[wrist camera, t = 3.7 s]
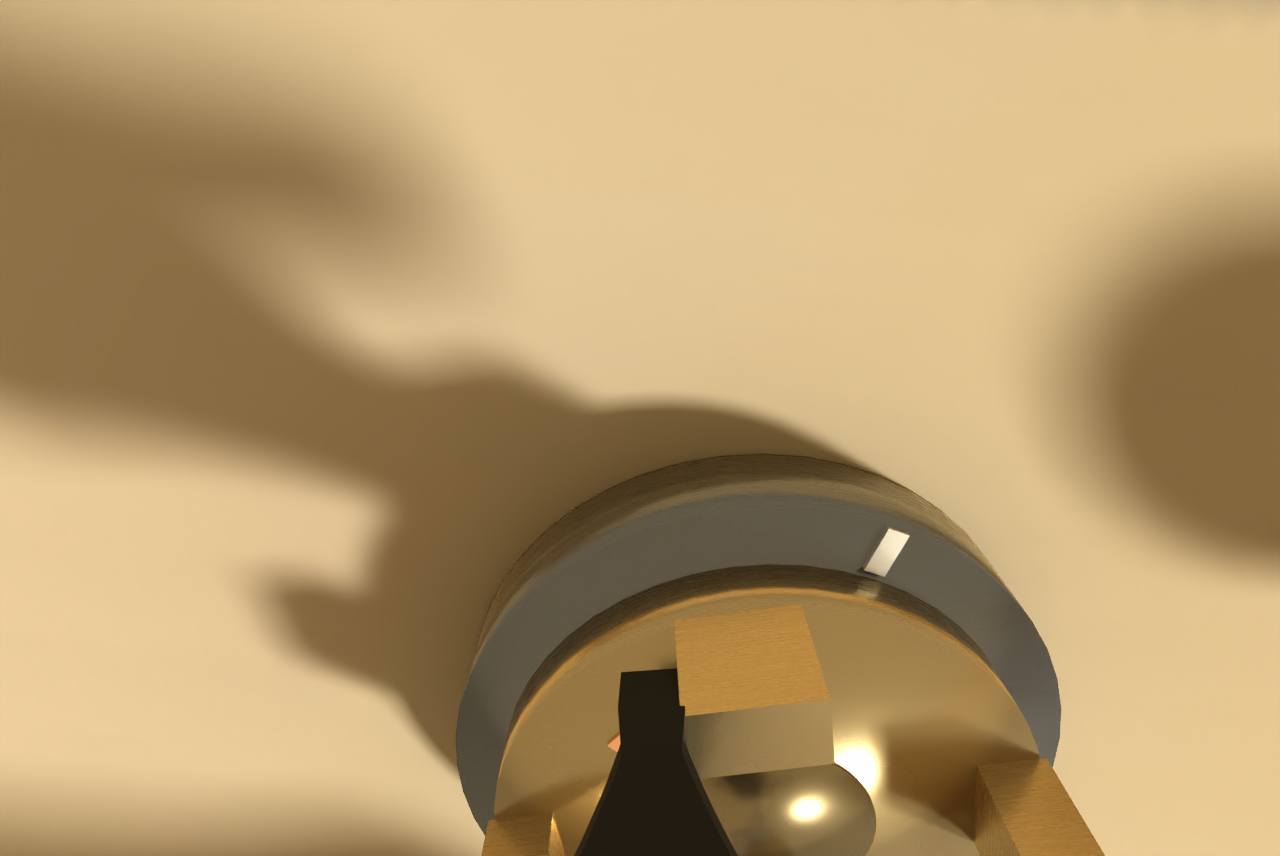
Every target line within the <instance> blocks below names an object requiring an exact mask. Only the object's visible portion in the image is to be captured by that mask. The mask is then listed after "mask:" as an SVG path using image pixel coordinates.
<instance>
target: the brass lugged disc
mask: <svg viewBox="0 0 1280 856" xmlns="http://www.w3.org/2000/svg"><path fill="white" fill-rule="evenodd" d="M674 668H677V670H678V686H679V702H680V705H681V706H685V725H686V737H687V749H688V751H689V754H690V756H691V759H692V761H693V763H694V766H695V768H696V771H697V773H698V775H699V778H700V780H701V782H702V785H703V787H704V789H705V791H706V794H707V796H708V798H709V800H710V802H711V804H712V806H713V808H714V810H715V812H716V814H717V816H718V818H719V820H720V822H721V824H722V826H723V828H724V830H725V832H726V834H727V836H728V838H729V840H730V842H731V844H732V846H733V847H734V849H735V851H736V853H737V855H738V856H1105V855H1104V853H1103V852H1102V850H1101V848H1100V847H1099V845H1098V843H1097V842H1096V840H1095V838H1094V837H1093V835H1092V833H1091V832H1090V830H1089V828H1088V827H1087V825H1086V823H1085V822H1084V820H1083V818H1082V817H1081V815H1080V813H1079V812H1078V810H1077V808H1076V807H1075V805H1074V803H1073V802H1072V800H1071V798H1070V797H1069V795H1068V793H1067V792H1066V790H1065V788H1064V787H1063V785H1062V783H1061V782H1060V780H1059V778H1058V777H1057V775H1056V773H1055V771H1054V770H1053V768H1052V766H1051V765H1050V763H1049V761H1048V760H1047V758H1041V759H1040V757H1039V752H1038V747H1037V745H1036V742H1035V740H1034V738H1033V735H1032V733H1031V731H1030V728H1029V726H1028V723H1027V721H1026V720H1025V718H1024V716H1023V715H1022V713H1021V711H1020V710H1019V708H1018V706H1017V705H1016V703H1015V701H1014V700H1013V698H1012V696H1011V695H1010V693H1009V691H1008V690H1007V688H1006V686H1005V685H1004V683H1003V681H1002V680H1001V678H1000V676H999V675H998V673H997V671H996V670H995V668H994V667H993V665H992V664H991V662H990V661H989V659H988V658H987V656H986V655H985V653H984V652H983V650H982V649H981V648H980V647H979V646H978V645H977V644H976V642H975V641H974V640H973V639H972V638H971V637H970V636H969V635H968V634H967V633H966V632H965V631H964V630H963V629H962V628H961V627H960V626H959V625H957V624H956V623H955V622H954V621H952V620H951V619H950V618H948V617H947V616H946V615H945V614H943V613H942V612H941V611H939V610H938V609H937V608H935V607H933V606H931V605H929V604H928V603H926V602H924V601H922V600H921V599H919V598H917V597H915V596H914V595H912V594H910V593H908V592H906V591H903V590H901V589H898V588H896V587H893V586H891V585H888V584H886V583H883V582H881V581H878V580H875V579H871V578H867V577H864V576H860V575H856V574H852V573H849V572H845V571H840V570H833V569H826V568H819V567H812V566H805V565H774V564H765V565H752V566H739V567H728V568H722V569H717V570H712V571H706V572H701V573H696V574H691V575H688V576H684V577H681V578H678V579H674V580H671V581H668V582H664V583H661V584H658V585H655V586H653V587H650V588H648V589H646V590H643V591H641V592H639V593H636V594H634V595H632V596H629V597H627V598H625V599H623V600H621V601H619V602H617V603H616V604H614V605H612V606H611V607H609V608H607V609H605V610H604V611H602V612H600V613H599V614H597V615H595V616H593V617H592V618H591V619H589V620H588V621H587V622H585V623H584V624H583V625H581V626H580V627H579V628H578V629H576V630H575V631H574V632H572V633H571V634H570V635H568V636H567V637H566V638H565V639H564V640H563V641H562V642H561V643H560V644H559V645H558V646H557V647H556V648H555V649H554V650H553V651H552V652H551V653H550V654H549V655H548V656H547V657H546V658H545V659H544V661H543V662H542V664H541V665H540V666H539V668H538V669H537V670H536V672H535V673H534V674H533V676H532V677H531V678H530V680H529V681H528V683H527V685H526V687H525V689H524V691H523V693H522V694H521V696H520V698H519V700H518V702H517V704H516V706H515V709H514V713H513V716H512V719H511V722H510V725H509V728H508V732H507V737H506V742H505V747H504V752H503V757H502V762H501V767H500V771H499V776H498V781H497V788H496V796H495V804H494V817H495V819H494V820H489V821H488V826H487V831H486V836H485V841H484V845H483V850H482V855H481V856H574V855H575V853H576V850H577V848H578V846H579V844H580V842H581V840H582V838H583V836H584V833H585V831H586V829H587V827H588V824H589V822H590V820H591V817H592V815H593V813H594V811H595V808H596V806H597V804H598V802H599V799H600V797H601V795H602V792H603V790H604V787H605V785H606V782H607V779H608V777H609V774H610V771H611V769H612V766H613V763H614V760H615V758H616V755H617V752H618V749H619V747H620V744H621V743H620V730H619V717H618V700H619V688H620V679H621V672H630V671H645V670H659V669H674Z"/></svg>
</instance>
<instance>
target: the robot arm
mask: <svg viewBox="0 0 1280 856" xmlns="http://www.w3.org/2000/svg"><path fill="white" fill-rule="evenodd" d="M618 717H619V730H620V743H621V744H620V747H619V749H618V752H617V755H616V758H615V760H614V763H613V766H612V769H611V771H610V774H609V777H608V779H607V782H606V785H605V787H604V790H603V792H602V795H601V797H600V799H599V802H598V804H597V806H596V808H595V811H594V813H593V815H592V817H591V820H590V822H589V824H588V827H587V829H586V831H585V833H584V836H583V838H582V840H581V842H580V844H579V846H578V848H577V850H576V853H575V855H574V856H738V855H737V853H736V851H735V849H734V847H733V846H732V844H731V842H730V840H729V838H728V836H727V834H726V832H725V830H724V828H723V826H722V824H721V822H720V820H719V818H718V816H717V814H716V812H715V810H714V808H713V806H712V804H711V802H710V800H709V798H708V796H707V794H706V791H705V789H704V787H703V785H702V782H701V780H700V778H699V775H698V773H697V771H696V768H695V766H694V763H693V761H692V759H691V756H690V754H689V751H688V749H687V737H686V725H685V706H681V705H680V702H679V686H678V670H677V668H674V669H659V670H645V671H630V672H621V679H620V688H619V700H618Z"/></svg>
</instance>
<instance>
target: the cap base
mask: <svg viewBox="0 0 1280 856" xmlns="http://www.w3.org/2000/svg"><path fill="white" fill-rule="evenodd" d="M765 564H774V565H805V566H812V567H819V568H826V569H833V570H840V571H845V572H849V573H852V574H856V575H860V576H864V577H867V578H871V579H875V580H878V581H881V582H883V583H886V584H888V585H891V586H893V587H896V588H898V589H901V590H903V591H906V592H908V593H910V594H912V595H914V596H915V597H917V598H919V599H921V600H922V601H924V602H926V603H928V604H929V605H931V606H933V607H935V608H937V609H938V610H939V611H941V612H942V613H943V614H945V615H946V616H947V617H948V618H950V619H951V620H952V621H954V622H955V623H956V624H957V625H959V626H960V627H961V628H962V629H963V630H964V631H965V632H966V633H967V634H968V635H969V636H970V637H971V638H972V639H973V640H974V641H975V642H976V644H977V645H978V646H979V647H980V648H981V649H982V650H983V652H984V653H985V655H986V656H987V658H988V659H989V661H990V662H991V664H992V665H993V667H994V668H995V670H996V671H997V673H998V675H999V676H1000V678H1001V680H1002V681H1003V683H1004V685H1005V686H1006V688H1007V690H1008V691H1009V693H1010V695H1011V696H1012V698H1013V700H1014V701H1015V703H1016V705H1017V706H1018V708H1019V710H1020V711H1021V713H1022V715H1023V716H1024V718H1025V720H1026V721H1027V723H1028V726H1029V728H1030V731H1031V733H1032V735H1033V738H1034V740H1035V742H1036V745H1037V747H1038V752H1039V757H1040V759H1041V758H1047V760H1048V761H1049V763H1050V765H1051V766H1052V767H1053V763H1054V759H1055V755H1056V751H1057V746H1058V742H1059V738H1060V719H1061V704H1060V697H1059V689H1058V681H1057V677H1056V674H1055V671H1054V668H1053V665H1052V662H1051V659H1050V656H1049V653H1048V650H1047V648H1046V646H1045V644H1044V642H1043V641H1042V639H1041V637H1040V635H1039V633H1038V631H1037V630H1036V628H1035V626H1034V624H1033V622H1032V621H1031V619H1030V618H1029V617H1028V615H1027V614H1026V612H1025V611H1024V610H1023V608H1022V607H1021V605H1020V604H1019V603H1018V601H1017V600H1016V599H1015V597H1014V596H1013V594H1012V593H1011V592H1010V590H1009V589H1008V588H1007V586H1006V585H1005V583H1004V582H1003V581H1002V579H1001V578H1000V576H999V575H998V574H997V572H996V571H995V570H994V568H993V567H992V565H991V564H990V563H989V561H988V560H987V558H986V557H985V556H984V555H983V553H982V552H981V551H980V550H979V548H978V547H977V546H976V545H975V543H974V542H973V541H972V540H971V539H970V537H969V536H968V535H967V534H966V533H965V532H964V531H963V530H962V529H961V528H960V527H959V526H958V525H957V524H955V523H954V522H953V521H952V520H951V519H950V518H949V517H948V516H947V515H945V514H944V513H943V512H942V511H941V510H939V509H938V508H936V507H935V506H933V505H932V504H930V503H929V502H927V501H926V500H924V499H923V498H921V497H920V496H918V495H917V494H915V493H913V492H912V491H910V490H908V489H906V488H903V487H901V486H899V485H897V484H895V483H893V482H891V481H889V480H887V479H884V478H882V477H880V476H878V475H875V474H871V473H868V472H865V471H862V470H859V469H856V468H853V467H850V466H847V465H843V464H839V463H834V462H828V461H823V460H818V459H812V458H807V457H798V456H783V455H767V454H757V455H738V456H721V457H715V458H709V459H703V460H697V461H692V462H686V463H681V464H677V465H674V466H670V467H667V468H663V469H660V470H657V471H653V472H650V473H646V474H643V475H641V476H638V477H636V478H634V479H631V480H629V481H627V482H624V483H622V484H620V485H617V486H615V487H613V488H610V489H608V490H606V491H604V492H603V493H601V494H599V495H597V496H596V497H594V498H592V499H591V500H589V501H587V502H585V503H584V504H582V505H580V506H579V507H577V508H575V509H574V510H572V511H571V512H570V513H568V514H567V515H566V516H565V517H563V518H562V519H561V520H559V521H558V522H557V523H556V524H554V525H553V526H552V527H550V528H549V529H548V530H546V531H545V532H544V533H543V534H542V535H541V536H540V537H539V539H538V540H537V541H536V542H535V543H534V544H533V545H532V546H531V547H530V548H529V549H528V550H527V551H526V552H525V553H524V554H523V555H522V556H521V557H520V559H519V560H518V562H517V563H516V564H515V566H514V567H513V568H512V570H511V571H510V572H509V574H508V575H507V577H506V578H505V579H504V581H503V582H502V584H501V586H500V588H499V590H498V592H497V594H496V596H495V598H494V600H493V602H492V604H491V606H490V608H489V610H488V613H487V616H486V619H485V622H484V625H483V628H482V632H481V635H480V638H479V641H478V645H477V648H476V652H475V655H474V659H473V662H472V666H471V669H470V673H469V676H468V680H467V683H466V687H465V690H464V693H463V697H462V700H461V704H460V709H459V716H458V724H457V731H456V750H457V766H458V770H459V775H460V779H461V784H462V788H463V792H464V794H465V797H466V799H467V802H468V804H469V807H470V809H471V811H472V814H473V816H474V818H475V820H476V822H477V823H478V825H479V826H480V828H481V830H482V831H483V833H484V835H485V836H486V831H487V826H488V821H489V820H494V819H495V817H494V804H495V796H496V788H497V781H498V776H499V771H500V767H501V762H502V757H503V752H504V747H505V742H506V737H507V732H508V728H509V725H510V722H511V719H512V716H513V713H514V709H515V706H516V704H517V702H518V700H519V698H520V696H521V694H522V693H523V691H524V689H525V687H526V685H527V683H528V681H529V680H530V678H531V677H532V676H533V674H534V673H535V672H536V670H537V669H538V668H539V666H540V665H541V664H542V662H543V661H544V659H545V658H546V657H547V656H548V655H549V654H550V653H551V652H552V651H553V650H554V649H555V648H556V647H557V646H558V645H559V644H560V643H561V642H562V641H563V640H564V639H565V638H566V637H567V636H568V635H570V634H571V633H572V632H574V631H575V630H576V629H578V628H579V627H580V626H581V625H583V624H584V623H585V622H587V621H588V620H589V619H591V618H592V617H593V616H595V615H597V614H599V613H600V612H602V611H604V610H605V609H607V608H609V607H611V606H612V605H614V604H616V603H617V602H619V601H621V600H623V599H625V598H627V597H629V596H632V595H634V594H636V593H639V592H641V591H643V590H646V589H648V588H650V587H653V586H655V585H658V584H661V583H664V582H668V581H671V580H674V579H678V578H681V577H684V576H688V575H691V574H696V573H701V572H706V571H712V570H717V569H722V568H728V567H739V566H752V565H765Z"/></svg>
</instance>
